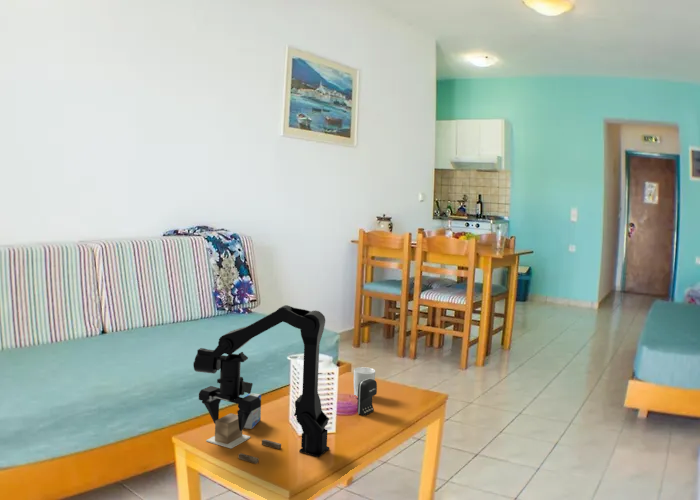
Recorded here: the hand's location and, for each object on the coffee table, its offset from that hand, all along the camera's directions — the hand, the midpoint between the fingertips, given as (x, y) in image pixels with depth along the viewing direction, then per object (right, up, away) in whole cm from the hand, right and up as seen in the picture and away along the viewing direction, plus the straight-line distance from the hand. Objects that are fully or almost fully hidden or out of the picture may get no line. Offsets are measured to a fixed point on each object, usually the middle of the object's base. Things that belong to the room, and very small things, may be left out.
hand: (228, 427), depth 173 cm
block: (0, -3, 0) cm, 3 cm away
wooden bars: (+10, -5, -8) cm, 14 cm away
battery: (+41, -4, +27) cm, 49 cm away
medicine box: (+4, -3, +13) cm, 14 cm away
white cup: (+40, -2, +43) cm, 59 cm away
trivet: (0, -4, 0) cm, 4 cm away
